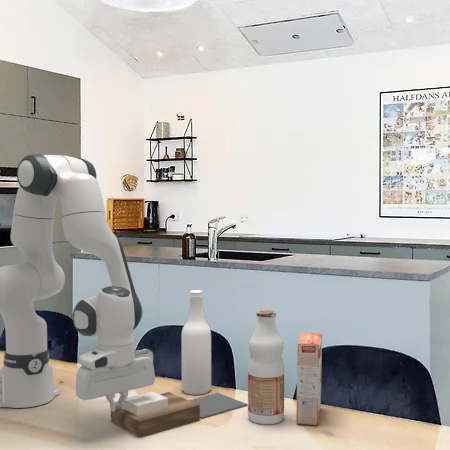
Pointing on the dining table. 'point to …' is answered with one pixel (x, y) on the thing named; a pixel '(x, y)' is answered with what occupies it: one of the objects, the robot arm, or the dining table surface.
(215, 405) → the mat
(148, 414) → the board
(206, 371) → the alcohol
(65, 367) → the dining table surface
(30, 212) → the robot arm
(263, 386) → the fruit juice
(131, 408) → the tile
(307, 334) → the cracker box
